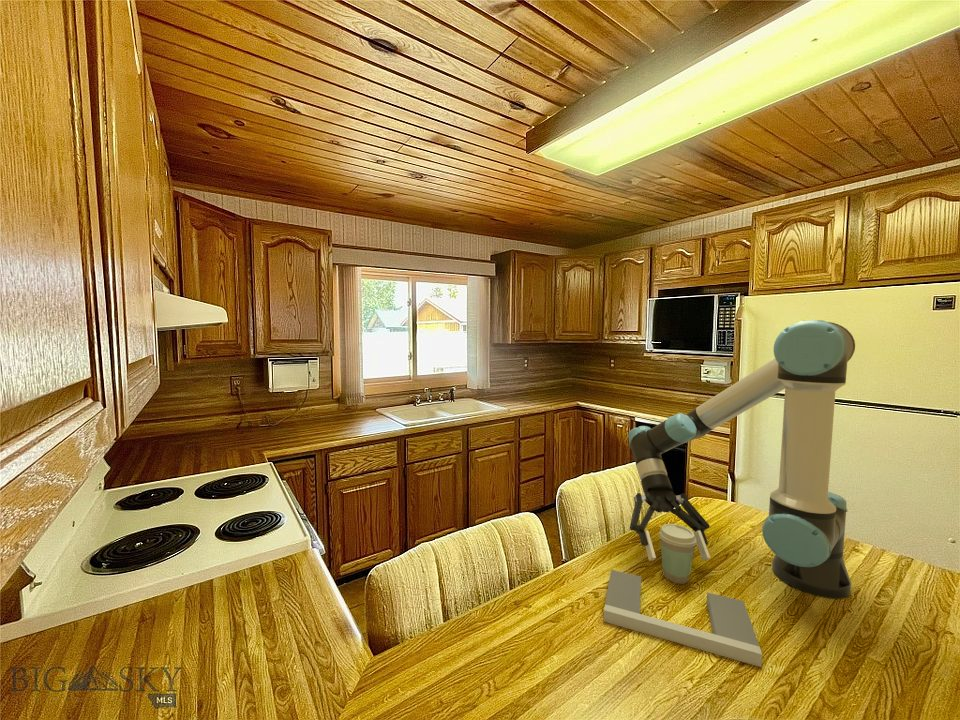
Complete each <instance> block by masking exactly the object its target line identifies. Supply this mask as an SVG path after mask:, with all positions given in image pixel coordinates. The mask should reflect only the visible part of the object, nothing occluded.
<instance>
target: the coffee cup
mask: <svg viewBox="0 0 960 720" xmlns="http://www.w3.org/2000/svg"><path fill="white" fill-rule="evenodd" d="M694 533H695V531H694V530H693V529H692V530H691V528H688V527H686V526H684V525H680V524H675V523H667V524H663V525H662V526H661V528H660V530H659V533H658V537H659V538H660V539H659V540H660V541H659V542H660V550H661V551H660V553H661V554H660V555H661V565H662V575H663V576H664V577H665V579H667V580H668V581H670V582H672V583H675V584H682V585H683V584H687V583H688V582H689V581H690V580H689V579H690V574H691V570H692V569H691V568H692V563H693V557H694V553H695V546H697V542H696V538H695V535H694Z"/></svg>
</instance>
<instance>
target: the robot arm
mask: <svg viewBox="0 0 960 720" xmlns="http://www.w3.org/2000/svg"><path fill="white" fill-rule="evenodd" d="M855 350H856V341H855V339H854V335H852V333H851V332H850V331H849V330H848V329H847V328H846V327H845V326H842V325H840V324H838V323H835V322H831V321H825V320H822V319H817V320H816V319H810V320H802V321H798V322H795V323H793V324H790V325H788V326H787V327H785V328H784V329H783V330H782V331H780V333H779V334H778V335H777V337H776V339H775V340H774V343H773V356H774V358H773V359H771V360H769V361H768V362H767V363H765V364H763V365H762V366H760V367H759V368H757V369H756V370H754V371H753V372H751V373H749V374H748V375H746V376H744V377H743V378H741V379H740V380H738V381H736V382H735V383H733V384H732V385H730V386H728V387H727V388H726V389H724V390H722V391H721V392H719V393H718V394H716V395H714V396H712V397H710V399H708V400H707V401H705V402H703V403H701V404H700V405H698V406H697V407H695V408H694V409H691V410H690V411H689V412H687V413H685V414H684V413H683V412H682V413H681V412H679V413H676V414H674V415H671V416H669V417H667V419H665V420H663V421H662V422H660V423H659V424H656V425H655V426H653V427H652V428H651V427H650V426H647V425H640V426H638V427H633V428H632V429H631V430H629V432H628V434H627V438H628V442H629V447H630V450H631V453H632V456H633V458H634V462H635V467H636V470H637V473H638V474H637V475H638V477H639V480H640V484H641V488H642V491H643V493H644V494H641V493H640V492H638V493H636V494H635V495H634V497H633V501H634V506H633V507H634V508H633V512H632V516H631V519H630V524H629V530H630V531H631V532H633V531H634V532H635V533H636V534H637V535H638V538H639V541H640V544H641V546H643V547H644V546H645V550H646V555H647V559H648V561H649V562H652V561H654V560H655V559H657V556H656V553H655V550H654V545H653V542H652V539H651V535H650V532H649V530H647V529H646V528H647V526H648V524H649V522H650V520H651V518H652V516H653V514H654V513H655V512H657V513H672V515H675V516H677V518H679V520H681V521H682V522H683V523H685V525H686V526H688V527H689V529H690V530H691V529H692V531H693V532H694V535H695V538H696V542H697V544H696V546H697V549H698V553H699V554H700V557H701V560H702V561H703V562H706V561H707V560H709V559H711V556H710V552H709V550H708V548H707V545H708V544H709V542H708V538H707V537H706V536H707V535H706V534H705V531H707V530H708V529H709V528H710V526H711V525H710V524H709V523H708V521H707V520H706V519H705V517H703V516H702V514H700V513H699V511H698V509H696V508H695V506H694V505H693V504H692V503H691V502H690V501H689V499H688V498H689V497H687V494H686V493H684V492H683V493H681V494H679V495H676V494H675V493H674V491H673V486H672V483H671V481H670V478H669V476H668V472H667V468H666V466H665V462H664V461H663V458H662V454H664V453H666V452H668V451H670V450H672V449H674V448H676V447H679V446H681V445H684V444H685V443H688V442H691V441H693V440H697V439H701V438H702V437H705V436H706V435H707V434H708V433H710V432H711V431H713V430H715V429H716V428H719V427H720V426H721V425H724V424H725V423H727V422H728V421H730V420H732V419H733V418H736V417H737V416H739V415H741V414H743V413H745V412H746V411H748V410H750V409H751V408H754V407H755V406H757V405H759V404H760V403H762V402H764V401H766V400H767V399H769V398H771V397H772V396H774V395H776V394H778V393H780V392H782V391H784V402H783V417H782V432H781V434H782V435H781V449H780V462H779V464H780V467H779V478H778V488H776V489H775V490H773V491H771V492H770V494H769V505H768V506H769V508H768V516H767V517H766V518H765V520H764V521H763V524H762V529H761V531H762V537H763V540H764V542H765V544H766V546H767V547H768V548H769V549H770V550H771V551H772V552H773V554H774V556H773V557H772V567H771V568H772V569H771V570H772V572H773V573H774V574H775V576H776V577H778V579H780V580H781V581H783V582H784V583H786V584H787V585H790V586H791V587H793V588H795V589H797V590H800V591H802V592H805V593H807V594H810V595H813V596H817V597H822V598H827V599H836V600H838V599H847V598H848V597H850V595H851V593H852V583H851V579H850V575H849V573H848V569H847V568H846V567H847V566H846V564H845V561H844V549H845V548H844V547H845V534H846V533H845V532H846V518H847V512H848V511H849V510H848V508H847V500H846V499H845V498H844V497H842V496H841V495H839V494H837V493H834V492H831V491H829V484H830V483H829V482H830V470H831V457H832V443H833V432H834V431H833V429H834V416H835V414H834V413H835V404H836V403H835V402H836V401H835V400H836V399H835V398H836V392H837V390H839V389H840V388H842V387H843V386H845V385H846V383H847V370H848V369H847V368H848V362H849V361H850V360H851V359H852V357H853V356H854V353H855ZM644 502H645V503H647V504H648V506H649V507H648V508H647V511H646V513H645V514H644V517H643V518H642V520H641V522H640V524H639V519H640V515H641V510H642V506H643V503H644Z"/></svg>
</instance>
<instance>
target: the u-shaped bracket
mask: <svg viewBox="0 0 960 720" xmlns="http://www.w3.org/2000/svg"><path fill="white" fill-rule="evenodd" d="M641 589H642V576H640V575H636V574H632V573H628V572H623V571H619V570H615V569H610V573H609V579H608V586H607V591H606V597H605V602H604V608H603V622H604V623H609V624H610V625H615V626H618V627H622V628H626V629H629V630H631V631H635V632H638V633H643V634H645V635H649V636H653V637H656V638H658V639H663V640H666V641H670V642H673V643H677V644H680V645H684V646H687V647H691V648H694V649H698V650H701V651H705V652H707V653H711V654H715V655H718V656H721V657H724V658H728V659H730V660H735V661H737V662H738V661H739V662H742V663H745V664H749V665H753V666H755V667H758V668H759V667H760V668H762V667H763V666H762V665H763V652H762V650H761V646H760V644H759V642H758V638H757V635H756V632H755V629H754V627H753V625H752V622H751V618H750V615H749V612H748V610H747V607H746V605H745V601H744V600H741V599H736V598H732V597H728V596H725V595H720V594H716V593H712V592H707V593H706V594H707V596H706V606H707V611H708V615H709V619H710V620H709V621H710V624H711V629H712V633H711V632H707V631H703V630H700V629H698V628H697V629H696V628H693V627H689V626H685V625H682V624H679V623H674V622H670V621H667V620H664V619H660V618H656V617H652V616H649V615H646V614H641V594H642V590H641Z"/></svg>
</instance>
